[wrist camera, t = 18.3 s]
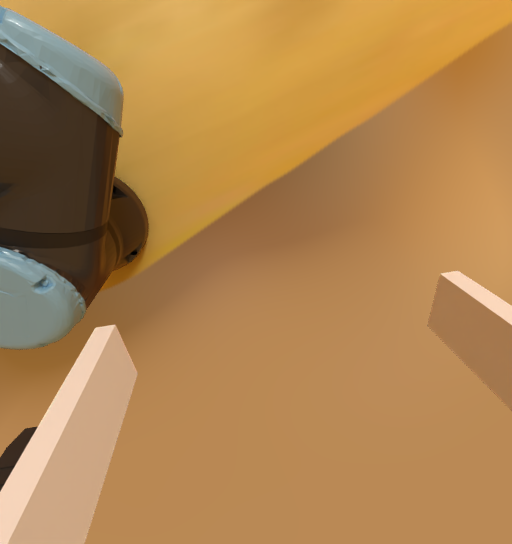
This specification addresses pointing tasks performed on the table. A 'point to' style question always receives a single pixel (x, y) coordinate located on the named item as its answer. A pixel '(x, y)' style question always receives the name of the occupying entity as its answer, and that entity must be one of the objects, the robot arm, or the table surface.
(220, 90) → the table surface
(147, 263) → the table surface
